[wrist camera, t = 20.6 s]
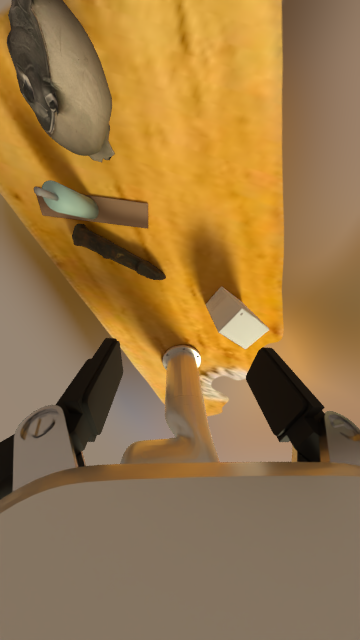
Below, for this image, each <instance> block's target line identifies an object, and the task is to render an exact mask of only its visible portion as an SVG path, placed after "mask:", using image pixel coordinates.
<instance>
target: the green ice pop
mask: <svg viewBox="0 0 360 640" xmlns="http://www.w3.org/2000/svg"><path fill="white" fill-rule="evenodd" d="M34 192H35V193H36V194H37V195H39V196H42V197H43V199H44V201H45V202H46V204H47V205H48V206H49V207H50V208H51V209H52V210H54V211H56V212H59V213H64V214H68V215H73V216H77V217H82V218H87V219H95V218H97V216H98V213H99V210H98V206H97V204H96V203H95V201H94V200H92V199H91V198H89V197H87V196H85V195H82V194H80V193H78V192H76V191H74V190H72V189H70V188H68V187H65V186H63V185H61V184H59V183H57V182H55V181H46V182H45V183H44V184H43V186H42V189H41V188H39V187H34Z"/></svg>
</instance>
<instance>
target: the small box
mask: <svg viewBox="0 0 360 640" xmlns="http://www.w3.org/2000/svg"><path fill="white" fill-rule="evenodd" d="M206 307H207V309H208V311H209V313H210V315H211V318H212V320H213V322H214V324H215V326H216V328H217V330H218V332H219V333H220V334H222V335H223V336H225V337H227V338H228V339H230V340H231V341H233V342H234V343H236V344H238V345H239V346H241V347H242V348H244V349H247V348H248V347H249V346H250V345H251V344H253V343H254V342H255V341H256V340H258V339H259V338H260V337H261V336H262V335H264V334H265V333H266V332H267V331H268V330H269V328H268V327H267V326H266V325H265V324H264V323H263V322H262V321H261V320H260V319H259V318H258V317H257V316H256V315H255V314H254V313H253V312H251V311H250V310H249V309H248V308H247V307H246V306H245V305H244V304H243V303H242V302H241V301H240V300H239V299H238V298H236V297H235V296H234V295H232V294H231V293H230V292H229V291H227V290H226V289H225V288H223V287H222V286H221V287H220V288H219V289H218V291H217V292H216V293H215V294H214V295H213V296H212V298H211V299H210V300H209V301H208V302H207V303H206Z"/></svg>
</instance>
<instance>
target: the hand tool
mask: <svg viewBox="0 0 360 640" xmlns="http://www.w3.org/2000/svg"><path fill="white" fill-rule="evenodd" d="M72 238H73V241H74V245H76V246H83V247H86V248H88V249H90V250H93V251H95V252H97V253H98V254H100V255H102V256H103V258H106V259H111V260H113V261H116V262H118V263H120V264H122V265H124V266H126V267H128V268H130V269H133V270H135V271H136V272H137V273H138V274H140V275H143V276H145V277H147V278H150V279H153V280H163V279H165V278H166V276H165V275H164V274H163V272H161V271H160V270H159V269H158V268H157V267H155V266H154V265H152V264H151V263H150V262H148V261H145V260H143V259H141V258H139V257H138V256H136V255H134V254H132V253H130V252H129V251H127V250H125V249H123V248H121V247H119V246H117V245H116V244H114V243H112V242H111V241H109V240H107V239H105V238H103V237H101V236H99V235H97V234H95V233H93V232H92V231H90V230H88V229H87V228H86V226H85V225H84V224H77V225H76V226H75V228H74V231H73V235H72Z"/></svg>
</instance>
